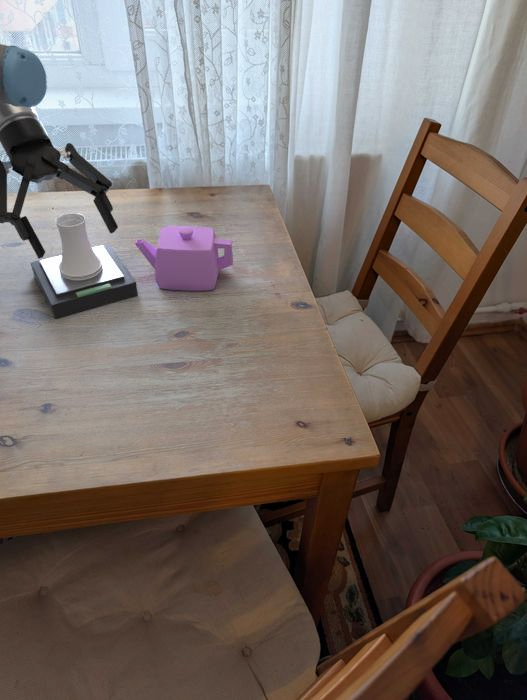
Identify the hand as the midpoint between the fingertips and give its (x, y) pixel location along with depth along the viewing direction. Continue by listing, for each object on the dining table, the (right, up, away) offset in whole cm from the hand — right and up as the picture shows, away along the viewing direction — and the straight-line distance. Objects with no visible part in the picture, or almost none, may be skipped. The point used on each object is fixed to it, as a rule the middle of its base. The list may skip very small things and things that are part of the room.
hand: (79, 242), depth 90 cm
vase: (-2, -4, +5) cm, 7 cm away
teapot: (+17, -4, +12) cm, 21 cm away
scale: (-2, -6, +8) cm, 10 cm away
